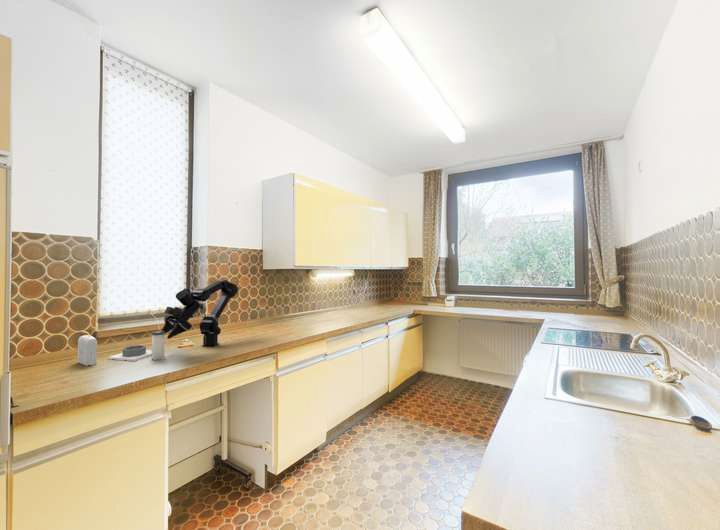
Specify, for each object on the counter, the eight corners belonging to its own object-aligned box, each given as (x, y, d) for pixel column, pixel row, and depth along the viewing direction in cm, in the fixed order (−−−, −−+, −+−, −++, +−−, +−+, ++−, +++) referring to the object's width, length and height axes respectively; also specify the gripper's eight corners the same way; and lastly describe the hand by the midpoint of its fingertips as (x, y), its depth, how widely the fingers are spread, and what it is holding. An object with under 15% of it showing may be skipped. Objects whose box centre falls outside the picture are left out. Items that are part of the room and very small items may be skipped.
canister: (167, 357, 150) (167, 331, 150) (158, 360, 145) (158, 333, 145) (157, 356, 151) (158, 330, 151) (148, 359, 146) (148, 332, 146)
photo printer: (98, 364, 139) (98, 335, 139) (86, 366, 136) (86, 337, 136) (87, 360, 144) (88, 333, 144) (75, 362, 141) (76, 334, 141)
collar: (158, 352, 157) (159, 344, 157) (133, 361, 144) (134, 352, 144) (134, 351, 160) (134, 343, 160) (108, 359, 146) (108, 350, 146)
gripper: (168, 298, 160) (143, 323, 151) (185, 302, 148) (158, 329, 140) (184, 312, 166) (161, 337, 157) (201, 316, 155) (177, 343, 146)
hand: (163, 336), depth 150 cm, fingers open, 9 cm apart
